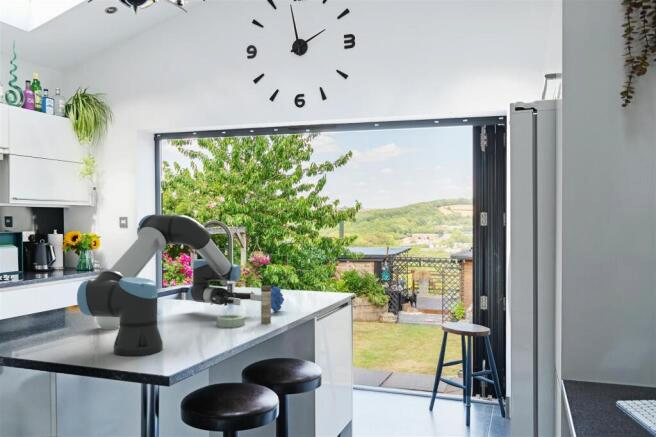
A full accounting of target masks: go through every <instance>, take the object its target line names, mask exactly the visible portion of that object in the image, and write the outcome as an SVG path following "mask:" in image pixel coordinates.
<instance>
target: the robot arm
mask: <svg viewBox="0 0 656 437" xmlns="http://www.w3.org/2000/svg"><path fill="white" fill-rule="evenodd" d="M137 225H138V226H137V229H136V235H137V239H136V240H135V241H134V242H133V243H132V244H131V245H130V247H129V248H128V249H127V250H126V251H125V252H124V253H123V254H122V255H121V257H120V258H119V259H118V260H117V261H116V262H115V264H113V266H112V267H111V268H110V269H108V270H104V271H102V272H100V273H99V274H98V275H97V276H96V277H95V279H87V280H84V281H82V282H81V283H80V284H79V287H78V289H77V293H76V302H77V307H78V309H79V311H80V312H81V313H82V314H83V315H85V316H90V317H95V318H96V316H99V317H120V326H119V328H118V332H117V334H116V337H115V341H114V344H113V353H114V354H115V355H118V356H128V357H134V356H136V357H137V356H146V355H152V354H156V353H158V352H159V353H160V352H161V351H163V346H164V343H163V340H162V337H161V333H160V331H159V330H160V329H159V327H158V296H159V293H158V285H157V283H156V282H155V281H154V280H152V279H149V278H143V277H138V276H139V274H140V273H141V272H142V271H143V269H144V268H145V267H146V266H147V264H148V263H149V262H150V261H151V260H152V259H153V257H154V256H155V255H156V254H157V253H160V252H163V251H164V250H165V249H166V248H167V246H168V245H184V246H188V247H189V248H190V249H192V250H194V251H196V252H197V253H198V255H200V256H201V258H200V259H194V260H193V261H192V262H193V263H192V265H193V266H192V285H190V287H189V288H188V290H187V296H188V299H189V300H190V301H193V302H197V303H202V304H203V303H205V304H210V306H211V305H219V306H222V305H223V306H225V307H226V306H228V305H233V306H241V300H250V301H254V302H255V301H257V302H261V294H259V293H257V294H256V293H255V292H254V291H251V292H237V291H236V292H232V291H227V289H226V288H225V287H218V286H210V284H211V282H212V281H214V282H216V281H217V282H237V281H240V279H241V274H242V270H241V266H240V265H239V264H234V263H233V264H232V263H231V262H230V261H229V260H228V259H227V257H226V256H225V254H224V253H222V251H221V250H220V249H219V247H218V246H217V245H216V243H215V242H214V241H213V239H211V233H210V232H209V230H208V229H207V228H206V227H205V226H204V225H203V224H202V223H200V222H199V221H197V220H196V219H195V218H192V217H191V216H189V215H188V216H187V215H184V214H157V213H155V214H147V215H145V216H144V217H142V218H141V219H140V221H139V222H138V224H137Z"/></svg>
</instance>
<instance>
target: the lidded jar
mask: <svg viewBox="0 0 656 437" xmlns="http://www.w3.org/2000/svg"><path fill="white" fill-rule="evenodd" d="M95 320H96V324H98V326H99V327H100V328H101V329H102V330H116V329H119V328H120V317H99V316H95Z"/></svg>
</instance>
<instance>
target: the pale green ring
mask: <svg viewBox="0 0 656 437" xmlns="http://www.w3.org/2000/svg"><path fill="white" fill-rule="evenodd" d="M245 324H246V316H245V315H242V314H223V315H219V316H217V317H216V326H218V327H221V328H237V327H242V326H245Z"/></svg>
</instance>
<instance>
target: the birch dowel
mask: <svg viewBox="0 0 656 437" xmlns="http://www.w3.org/2000/svg"><path fill="white" fill-rule="evenodd" d="M271 289H272V286H271V285H261V286H260V292H261V294H260V295H261V301H260V302H261V303H260V323H261V324H270V323H272V309H271Z"/></svg>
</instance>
